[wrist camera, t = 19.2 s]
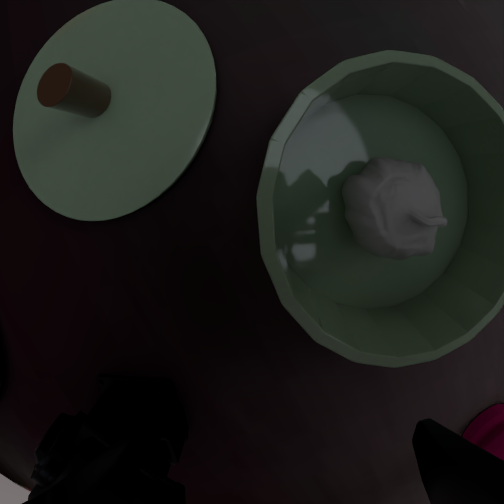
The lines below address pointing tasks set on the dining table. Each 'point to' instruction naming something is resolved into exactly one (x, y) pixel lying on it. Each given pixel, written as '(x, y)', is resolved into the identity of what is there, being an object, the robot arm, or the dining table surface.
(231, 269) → the dining table surface
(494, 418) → the pepper mill
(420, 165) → the garlic
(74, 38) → the lid
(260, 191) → the squat sage green cylinder
